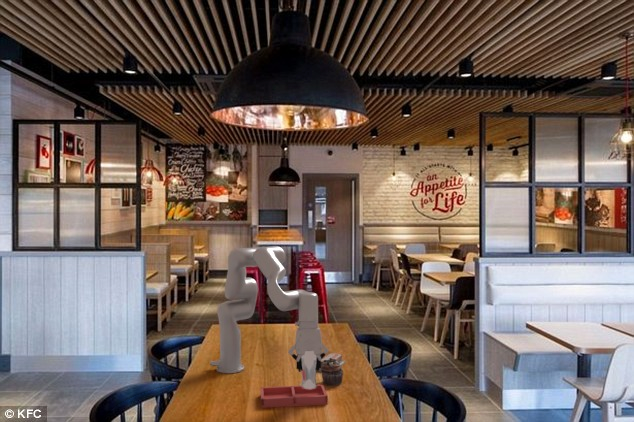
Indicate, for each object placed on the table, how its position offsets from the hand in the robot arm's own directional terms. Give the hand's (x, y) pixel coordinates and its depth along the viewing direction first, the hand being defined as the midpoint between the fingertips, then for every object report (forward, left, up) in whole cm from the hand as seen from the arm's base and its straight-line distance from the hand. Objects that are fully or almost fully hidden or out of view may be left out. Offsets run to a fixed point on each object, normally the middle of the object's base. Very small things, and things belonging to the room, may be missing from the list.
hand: (308, 370), depth 204 cm
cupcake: (+12, +18, -12) cm, 25 cm away
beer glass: (0, 0, -7) cm, 7 cm away
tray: (-6, 0, -11) cm, 13 cm away
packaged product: (+14, +41, -12) cm, 45 cm away
